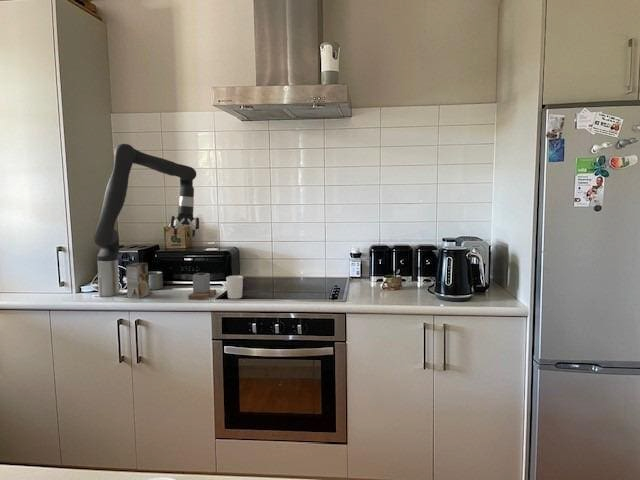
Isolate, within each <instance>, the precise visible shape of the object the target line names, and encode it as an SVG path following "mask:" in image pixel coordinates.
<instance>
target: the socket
mask: <svg viewBox="0 0 640 480" xmlns="http://www.w3.org/2000/svg"><path fill="white" fill-rule="evenodd" d="M210 278H211V274H210V273H208V272H207V273H206V272H197V273H194V274H193V275H192V293H193V294H206V293H208V292H210V289H211V279H210Z"/></svg>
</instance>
